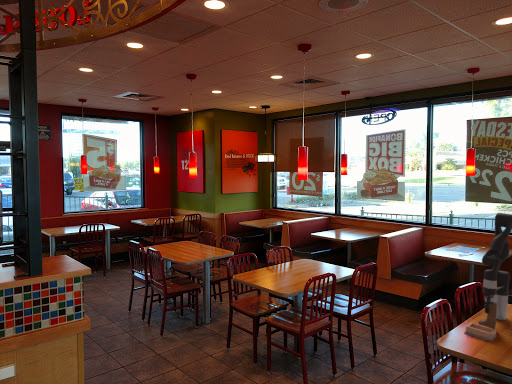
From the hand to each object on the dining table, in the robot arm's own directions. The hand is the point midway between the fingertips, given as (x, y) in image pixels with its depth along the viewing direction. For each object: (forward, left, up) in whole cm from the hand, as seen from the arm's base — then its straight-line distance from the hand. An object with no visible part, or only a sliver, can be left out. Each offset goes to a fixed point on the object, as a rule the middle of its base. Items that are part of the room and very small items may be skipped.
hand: (487, 312), depth 248 cm
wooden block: (0, 0, -12) cm, 12 cm away
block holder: (+13, 0, -11) cm, 17 cm away
